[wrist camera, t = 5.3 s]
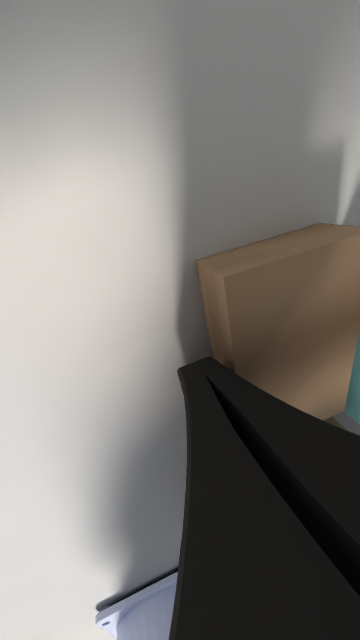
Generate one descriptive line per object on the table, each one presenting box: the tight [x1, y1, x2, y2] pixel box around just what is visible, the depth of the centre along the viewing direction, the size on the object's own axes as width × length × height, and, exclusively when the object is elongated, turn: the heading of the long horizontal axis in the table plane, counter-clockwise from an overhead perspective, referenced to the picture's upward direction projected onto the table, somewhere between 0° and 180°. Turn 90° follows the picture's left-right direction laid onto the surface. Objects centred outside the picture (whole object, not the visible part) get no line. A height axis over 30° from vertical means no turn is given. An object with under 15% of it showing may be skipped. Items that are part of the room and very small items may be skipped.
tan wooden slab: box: [196, 223, 360, 420], centre depth 10 cm, size 8×5×2 cm, turn 12°
